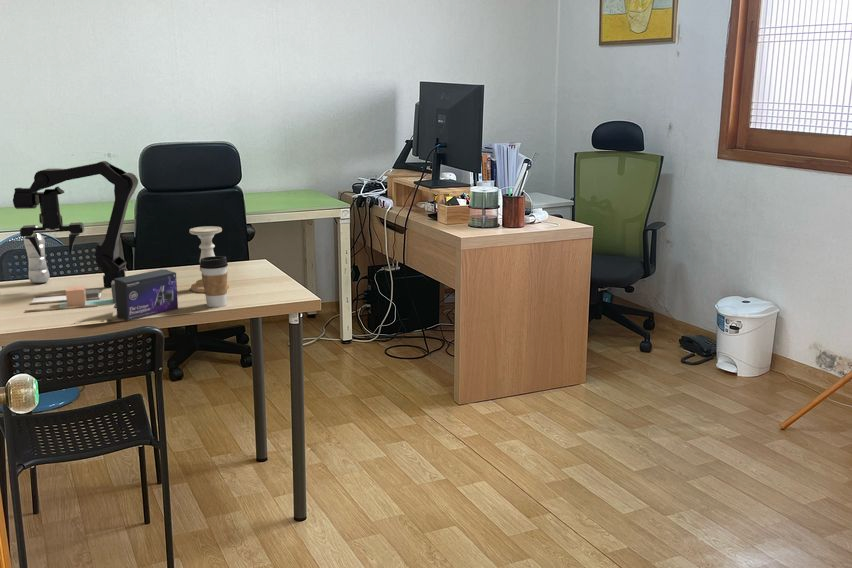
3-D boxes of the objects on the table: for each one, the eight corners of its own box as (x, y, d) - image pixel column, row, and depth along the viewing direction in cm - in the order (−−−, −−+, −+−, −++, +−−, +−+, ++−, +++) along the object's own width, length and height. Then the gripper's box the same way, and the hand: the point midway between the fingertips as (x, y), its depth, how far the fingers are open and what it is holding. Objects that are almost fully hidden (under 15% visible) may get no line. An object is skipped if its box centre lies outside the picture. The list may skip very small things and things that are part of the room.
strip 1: (101, 295, 268) (100, 288, 268) (100, 301, 262) (99, 293, 261) (34, 301, 263) (33, 293, 262) (30, 306, 256) (29, 298, 256)
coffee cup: (216, 309, 251) (212, 261, 247) (196, 306, 255) (193, 258, 252) (236, 303, 258) (233, 256, 254) (217, 299, 262) (213, 253, 258)
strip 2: (129, 300, 262) (127, 278, 261) (128, 305, 256) (126, 283, 254) (61, 305, 257) (58, 283, 255) (58, 311, 250) (55, 289, 249)
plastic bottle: (42, 285, 284) (35, 227, 279) (25, 284, 285) (17, 227, 280) (54, 281, 290) (47, 224, 285) (37, 280, 291) (30, 223, 286)
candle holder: (236, 287, 277) (232, 228, 272) (205, 295, 268) (200, 233, 263) (214, 282, 285) (210, 224, 280) (183, 289, 276) (178, 229, 271)
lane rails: (102, 295, 270) (101, 290, 269) (97, 310, 252) (96, 305, 251) (35, 300, 264) (34, 295, 264) (25, 316, 246) (24, 311, 246)
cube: (86, 301, 258) (84, 285, 256) (85, 305, 253) (83, 289, 252) (69, 302, 256) (67, 287, 255) (67, 306, 252) (65, 290, 250)
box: (128, 322, 240) (124, 281, 237) (116, 317, 244) (112, 278, 241) (179, 309, 252) (176, 271, 249) (167, 305, 257) (163, 268, 254)
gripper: (83, 203, 280) (88, 248, 284) (22, 206, 275) (28, 252, 278) (79, 207, 269) (85, 255, 273) (16, 211, 264) (23, 259, 268)
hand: (55, 255), depth 274 cm, fingers open, 9 cm apart
